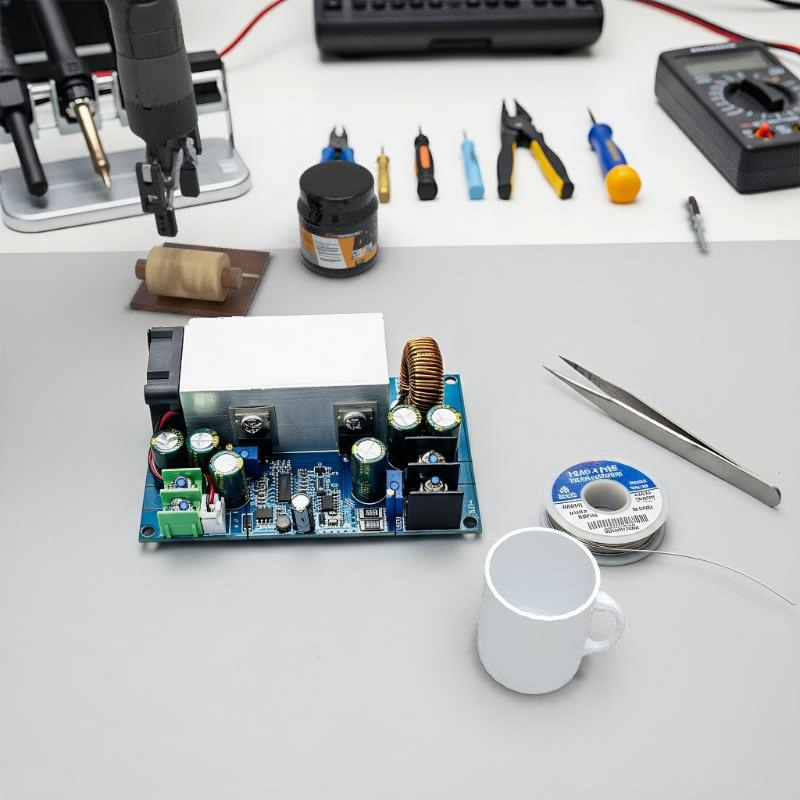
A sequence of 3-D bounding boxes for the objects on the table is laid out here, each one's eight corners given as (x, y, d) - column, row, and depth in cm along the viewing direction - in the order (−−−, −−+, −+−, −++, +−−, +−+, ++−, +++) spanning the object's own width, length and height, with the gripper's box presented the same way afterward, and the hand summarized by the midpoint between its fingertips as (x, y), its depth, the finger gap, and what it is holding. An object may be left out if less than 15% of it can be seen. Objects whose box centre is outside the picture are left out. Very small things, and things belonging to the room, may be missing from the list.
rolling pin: (134, 302, 124) (126, 263, 120) (150, 274, 128) (142, 235, 124) (235, 312, 123) (230, 273, 118) (248, 284, 127) (243, 245, 123)
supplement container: (325, 289, 128) (320, 210, 120) (286, 250, 135) (280, 171, 126) (393, 264, 132) (394, 185, 124) (353, 227, 139) (351, 150, 131)
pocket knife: (685, 202, 144) (688, 190, 143) (691, 202, 144) (694, 190, 143) (700, 256, 134) (703, 243, 133) (707, 256, 134) (710, 243, 133)
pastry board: (131, 309, 125) (129, 301, 124) (165, 248, 135) (164, 240, 134) (243, 320, 123) (242, 313, 123) (270, 258, 133) (269, 250, 132)
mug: (472, 607, 93) (480, 527, 85) (600, 606, 93) (620, 526, 85) (480, 698, 86) (489, 620, 78) (618, 697, 86) (641, 619, 78)
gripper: (146, 55, 112) (168, 181, 123) (99, 114, 102) (128, 246, 113) (210, 59, 111) (227, 186, 122) (169, 120, 101) (192, 252, 112)
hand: (180, 215), depth 117 cm, fingers open, 8 cm apart
